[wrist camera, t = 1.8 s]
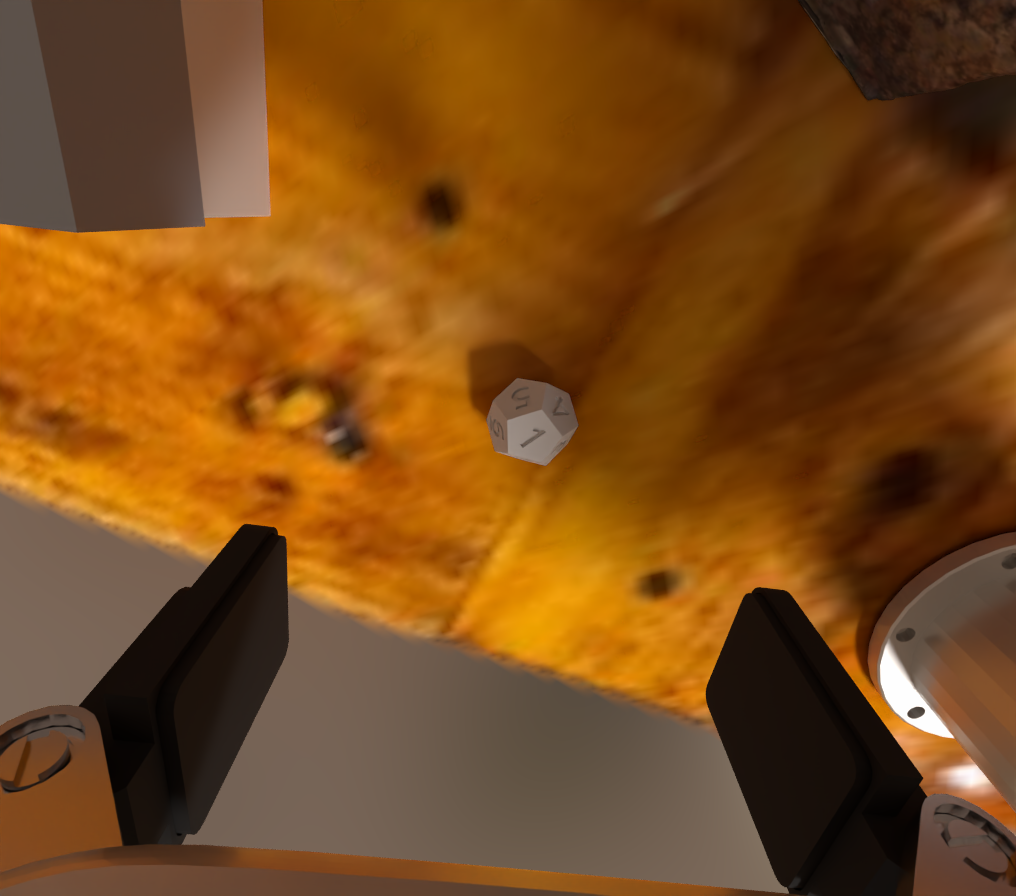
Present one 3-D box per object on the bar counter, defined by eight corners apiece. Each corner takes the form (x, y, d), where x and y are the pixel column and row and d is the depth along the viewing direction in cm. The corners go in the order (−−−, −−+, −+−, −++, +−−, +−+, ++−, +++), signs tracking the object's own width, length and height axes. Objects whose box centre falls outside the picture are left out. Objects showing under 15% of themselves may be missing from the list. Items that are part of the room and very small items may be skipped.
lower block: (262, -55, 17) (167, -151, 13) (272, 216, 20) (199, 217, 16) (6, -96, 17) (-184, -209, 12) (57, 184, 20) (-80, 176, 16)
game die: (471, 403, 23) (464, 428, 20) (542, 352, 22) (545, 371, 19) (520, 463, 24) (520, 495, 21) (590, 417, 23) (599, 444, 20)
